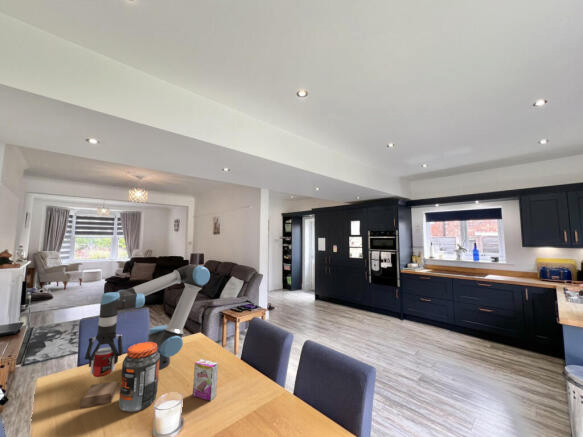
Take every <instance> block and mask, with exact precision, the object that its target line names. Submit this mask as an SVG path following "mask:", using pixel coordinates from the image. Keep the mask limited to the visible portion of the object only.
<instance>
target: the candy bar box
mask: <svg viewBox="0 0 583 437" xmlns="http://www.w3.org/2000/svg"><path fill="white" fill-rule="evenodd" d="M218 368H219V362H215V361H211V360H206V359H203V358H200V359H198V360H197V361H195V362H194V368H193V369H194V372H193V384H192V386H193V388H192V397H196V398H198V399H202V400H204V399H205V401H208V400H210V401H209V402H211V401H213V400H214V399H215V398H216V397H217V389H218V388H217V386H218ZM215 396H216V397H215ZM214 397H215V398H214Z"/></svg>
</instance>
